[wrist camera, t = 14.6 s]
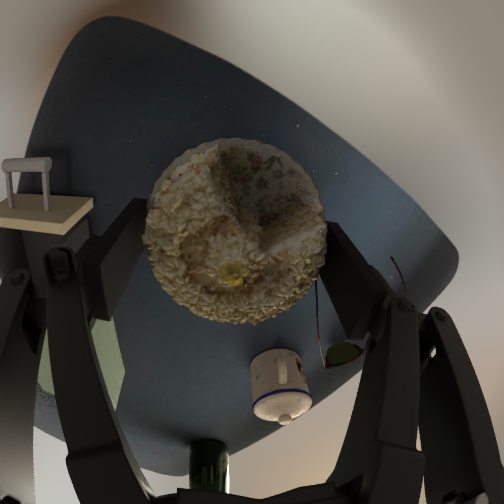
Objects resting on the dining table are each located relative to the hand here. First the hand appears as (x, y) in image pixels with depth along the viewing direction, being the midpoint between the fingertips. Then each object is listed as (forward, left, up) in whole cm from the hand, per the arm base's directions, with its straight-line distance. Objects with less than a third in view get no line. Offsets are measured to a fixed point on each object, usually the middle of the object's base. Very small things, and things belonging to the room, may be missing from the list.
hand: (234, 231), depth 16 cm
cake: (0, 0, 0) cm, 0 cm away
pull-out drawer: (+4, -24, -15) cm, 29 cm away
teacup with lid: (+31, +3, -16) cm, 35 cm away
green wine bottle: (+69, -17, -16) cm, 73 cm away
